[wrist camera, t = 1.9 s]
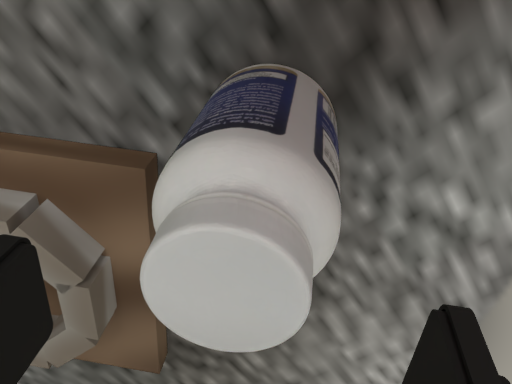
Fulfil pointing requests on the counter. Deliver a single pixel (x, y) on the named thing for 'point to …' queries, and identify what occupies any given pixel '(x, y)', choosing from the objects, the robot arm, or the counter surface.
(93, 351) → the hub board
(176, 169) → the pill bottle
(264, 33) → the counter surface
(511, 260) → the counter surface
